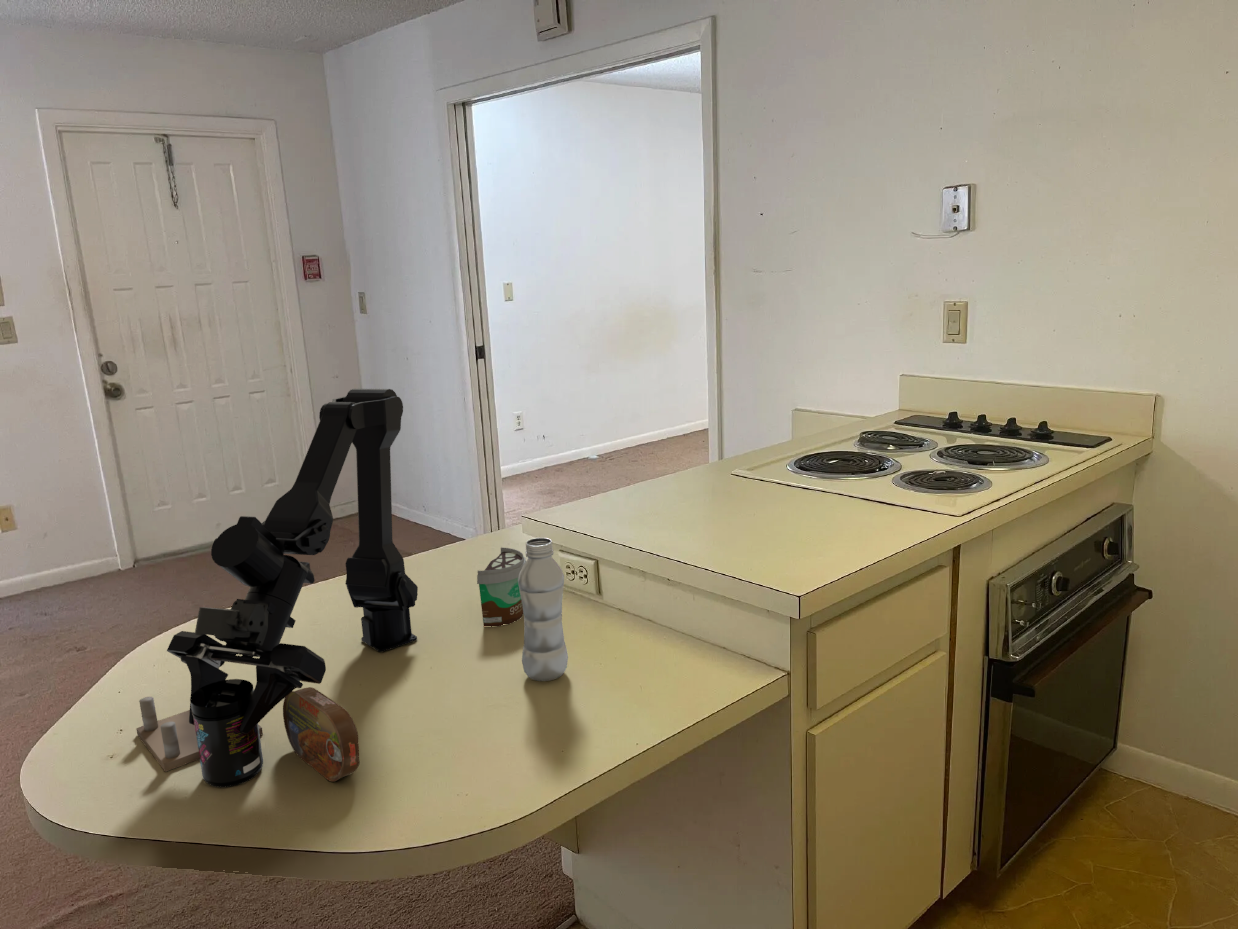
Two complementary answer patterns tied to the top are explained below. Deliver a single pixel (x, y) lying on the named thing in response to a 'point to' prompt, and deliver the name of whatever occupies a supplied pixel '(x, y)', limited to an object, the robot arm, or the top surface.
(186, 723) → the cradle
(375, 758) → the top surface
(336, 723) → the tin
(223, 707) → the supplement container
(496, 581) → the food container
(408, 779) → the top surface
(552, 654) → the plastic bottle
